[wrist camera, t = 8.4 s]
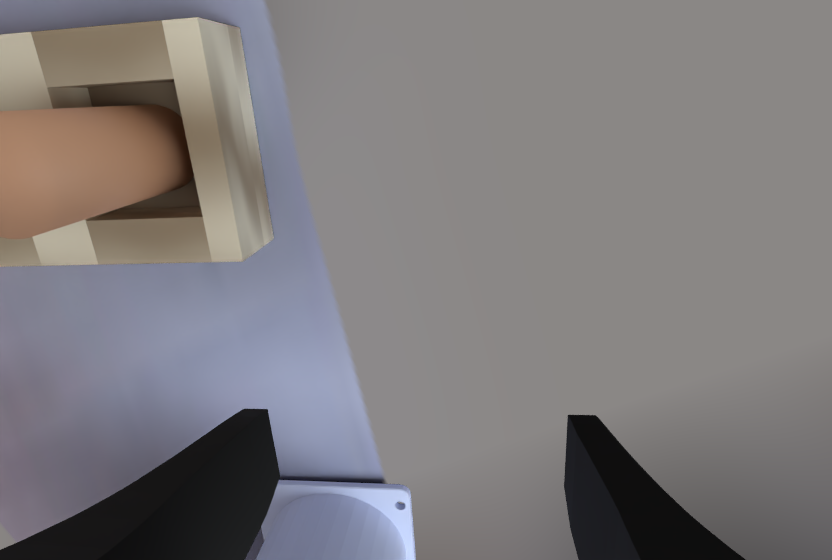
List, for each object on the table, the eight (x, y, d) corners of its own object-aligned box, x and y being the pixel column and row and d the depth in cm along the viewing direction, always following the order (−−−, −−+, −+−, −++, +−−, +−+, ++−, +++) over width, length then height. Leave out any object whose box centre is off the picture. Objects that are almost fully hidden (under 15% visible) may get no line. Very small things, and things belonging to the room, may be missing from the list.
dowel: (206, 190, 20) (71, 239, 13) (129, 190, 20) (-38, 239, 14) (190, 103, 19) (36, 110, 12) (110, 105, 19) (-82, 113, 13)
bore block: (273, 238, 21) (243, 261, 19) (-20, 246, 23) (-88, 268, 20) (239, 28, 19) (197, 17, 16) (-91, 55, 20) (-181, 50, 18)
